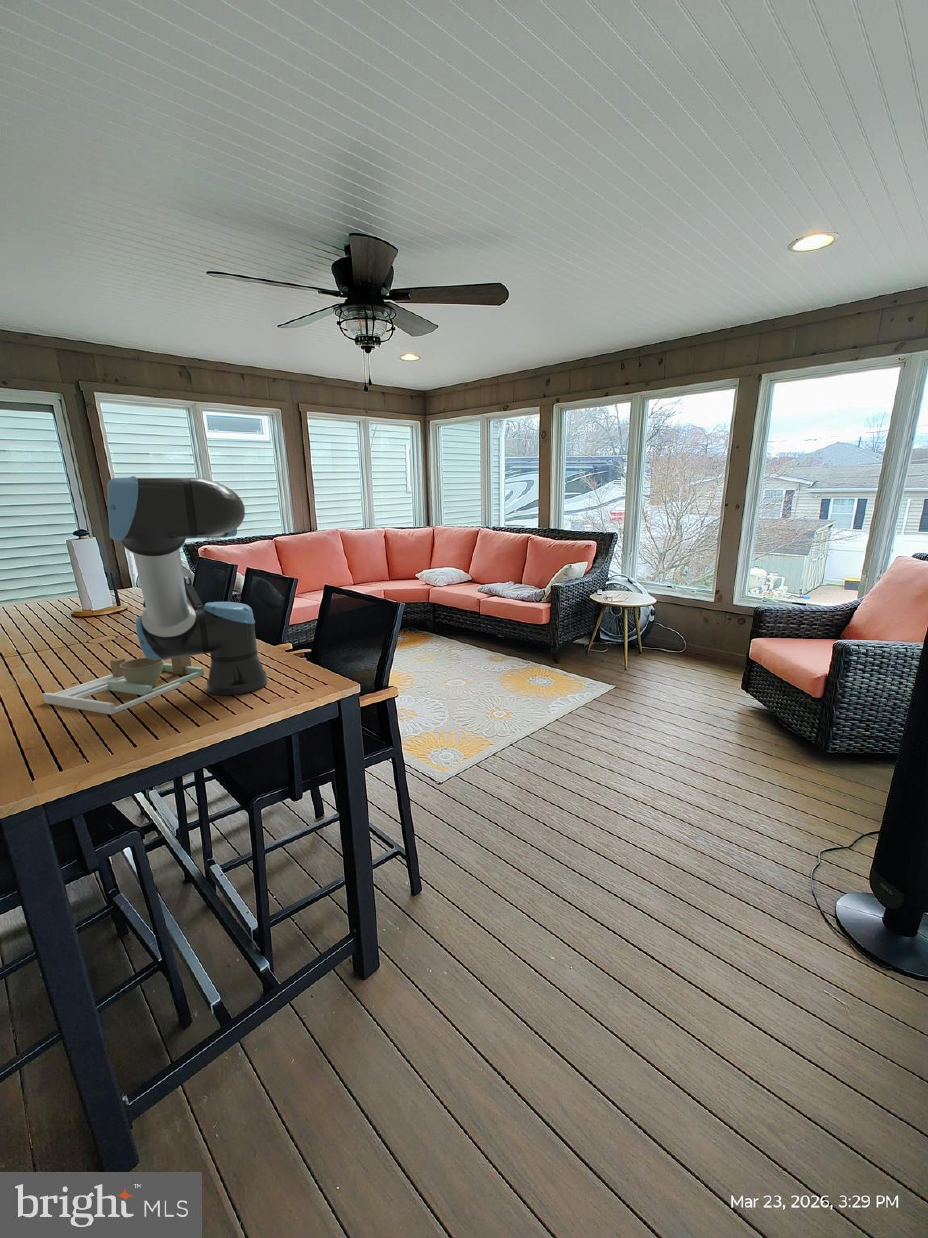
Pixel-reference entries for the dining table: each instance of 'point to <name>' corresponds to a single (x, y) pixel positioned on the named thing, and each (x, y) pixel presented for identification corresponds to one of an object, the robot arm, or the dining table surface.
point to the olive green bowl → (142, 671)
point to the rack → (95, 705)
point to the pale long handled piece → (116, 676)
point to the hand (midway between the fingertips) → (176, 632)
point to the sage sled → (177, 667)
